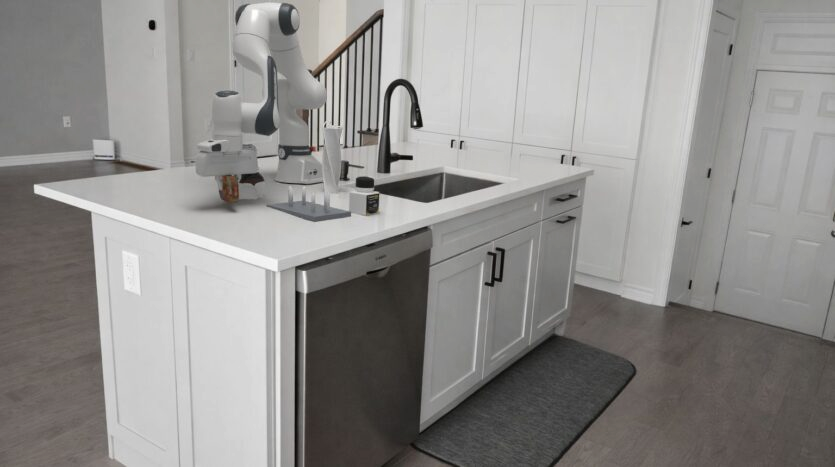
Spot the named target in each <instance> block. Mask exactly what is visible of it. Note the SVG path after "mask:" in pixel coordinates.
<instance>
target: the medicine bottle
mask: <svg viewBox="0 0 835 467" xmlns="http://www.w3.org/2000/svg"><path fill="white" fill-rule="evenodd" d="M348 197H349V199H348V200H349V202H348V204H349V205H348V211H350V212H351V214H356V215H358V216H359V215H360V216H364V217H367V216H368V217H369V216H371V215H376V214H379V213H380V212H379V211H380V191H375V178H373V176H366V175H365V176H363V175H362V176H357V177H356V178H355V190H353V191H349V196H348Z"/></svg>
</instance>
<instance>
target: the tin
mask: <svg viewBox="0 0 835 467" xmlns="http://www.w3.org/2000/svg"><path fill="white" fill-rule="evenodd" d="M221 181H222V183H223V184H225V188H226V189H225V190H219V189H218V193H219V197H220V199H221V200H222V201H224V202H226V203H227V204H232V203H233V204H234V203H237V202H238V201H239V184H238V180H237V178H236V177H235V176H234V175H223V176H222V179H221Z"/></svg>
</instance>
